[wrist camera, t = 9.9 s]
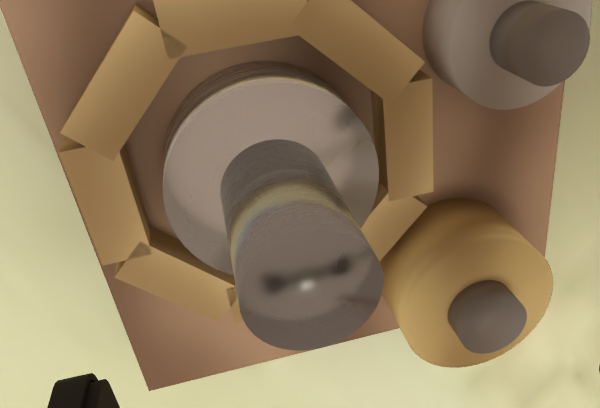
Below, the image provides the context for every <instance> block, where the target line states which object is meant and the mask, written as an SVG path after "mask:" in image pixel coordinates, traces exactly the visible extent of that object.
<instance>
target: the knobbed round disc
mask: <svg viewBox="0 0 600 408" xmlns="http://www.w3.org/2000/svg"><path fill="white" fill-rule="evenodd" d="M378 182H379V165H378V158H377V153H376V150H375V146H374V143H373V141H372V139H371V136H370V134H369V132H368V130H367V129H366V127H365V126H364V124H363V123H362V121H361V120H360V119H359V118H358V117H357V115H356V114H355V113H354V112H353V111H352V110H351V109H350V107H349V106H348V105H347V104H346V103H345V102H344V100H343V99H342V98H341V97H340V96H339V95H338V94H337V92H336V91H335V90H334V89H333V88H332V87H331V86H330V85H329V84H328V83H327V82H325V81H324V80H323V79H322V78H320V77H319V76H317V75H315V74H314V73H312V72H310V71H308V70H306V69H304V68H302V67H299V66H296V65H292V64H289V63H285V62H278V61H252V62H245V63H241V64H237V65H233V66H230V67H228V68H225V69H223V70H220V71H218V72H217V73H215V74H213V75H211V76H210V77H208V78H206V79H205V80H204V81H202V82H201V83H200V84H198V85H197V86H196V87H195V88H194V89H193V90H192V91H191V92H190V93H189V94H188V95H187V96H186V97H185V98H184V100H183V101H182V102H181V104H180V105H179V106H178V108H177V110H176V112H175V113H174V115H173V117H172V119H171V122H170V124H169V127H168V129H167V134H166V138H165V143H164V155H163V200H164V205H165V210H166V214H167V217H168V219H169V222H170V225H171V227H172V228H173V230H174V232H175V234H176V235H177V237H178V238H179V240H180V241H181V242H182V244H183V245H184V246H185V247H186V248H187V249H188V250H189V251H190V252H191V253H192V254H193V255H194V256H196V257H197V258H198V259H200V260H201V261H202V262H204V263H205V264H207V265H209V266H211V267H213V268H214V269H217V270H219V271H222V272H224V273H227V274H230V275H234V279H235V285H236V290H237V296H238V302H239V308H240V313H241V316H242V319H243V321H244V322H245V324H246V326H247V327H248V329H249V330H250V331H251V332H252V333H253V334H254V335H255V336H256V337H257V338H259V339H260V340H262V341H263V342H265V343H267V344H269V345H272V346H274V347H277V348H281V349H286V350H302V351H303V350H313V349H318V348H322V347H325V346H329V345H331V344H334V343H336V342H339V341H341V340H342V339H344V338H346V337H348V336H349V335H351V334H352V333H354V332H355V331H356V330H357V329H359V328H360V327H361V326H362V325H363V324H364V323H365V322H366V321H367V320H368V319H369V317H370V316H371V315H372V313H373V312H374V310H375V309H376V307H377V305H378V303H379V301H380V297H381V294H382V290H383V272H382V268H381V265H380V262H379V260H378V258H377V256H376V255H375V253H374V251H373V249H372V248H371V246H370V244H369V243H368V241H367V239H366V237H365V236H364V234H363V232H362V230H361V228H362V227H363V225H364V223H365V221H366V220H367V218H368V216H369V214H370V212H371V209H372V207H373V205H374V201H375V198H376V194H377V189H378Z"/></svg>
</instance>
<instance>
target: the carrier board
mask: <svg viewBox="0 0 600 408" xmlns="http://www.w3.org/2000/svg"><path fill="white" fill-rule="evenodd" d="M0 7H1V10H2V12H3V15H4V18H5V20H6V23H7V25H8V28H9V31H10V33H11V36H12V38H13V41H14V43H15V46H16V49H17V51H18V54H19V56H20V59H21V61H22V64H23V67H24V69H25V72H26V74H27V77H28V80H29V82H30V85H31V87H32V90H33V92H34V95H35V98H36V100H37V103H38V105H39V108H40V110H41V113H42V116H43V118H44V121H45V123H46V126H47V129H48V131H49V134H50V136H51V139H52V141H53V144H54V147H55V149H56V152H57V154H58V157H59V159H60V162H61V165H62V167H63V170H64V172H65V175H66V178H67V180H68V183H69V185H70V188H71V190H72V193H73V196H74V198H75V201H76V203H77V206H78V208H79V211H80V214H81V216H82V219H83V221H84V224H85V227H86V229H87V232H88V234H89V237H90V239H91V242H92V245H93V247H94V250H95V252H96V255H97V257H98V260H99V263H100V265H101V268H102V270H103V273H104V276H105V278H106V281H107V283H108V286H109V288H110V291H111V294H112V296H113V299H114V301H115V304H116V306H117V309H118V312H119V314H120V317H121V319H122V322H123V325H124V327H125V330H126V332H127V335H128V337H129V340H130V343H131V345H132V348H133V350H134V353H135V355H136V358H137V361H138V363H139V366H140V368H141V371H142V374H143V376H144V379H145V381H146V384H147V386H148V389H149V391H151V390H155V389H159V388H163V387H167V386H171V385H175V384H179V383H183V382H186V381H190V380H194V379H198V378H202V377H206V376H210V375H214V374H218V373H222V372H226V371H230V370H234V369H238V368H242V367H246V366H250V365H254V364H258V363H262V362H266V361H270V360H274V359H278V358H282V357H286V356H290V355H294V354H298V353H302V352H306V351H310V350H303V351H302V350H286V349H281V348H277V347H274V346H272V345H269V344H267V343H265V342H263V341H262V340H260V339H259V338H257V337H256V336H255V335H254V334H253V333H252V332H251V331H250V330H249V329H248V327H247V326H246V324H245V322H244V321H243V319H242V316H241V313H240V308H239V302H238V296H237V290H236V285H235V279H234V275H230V274H227V273H224V272H222V271H219V270H217V269H214V268H213V267H211V266H209V265H207V264H205V263H204V262H202V261H201V260H200V259H198V258H197V257H196V256H194V255H193V254H192V253H191V252H190V251H189V250H188V249H187V248H186V247H185V246H184V245H183V244H182V242H181V241H180V240H179V238H178V237H177V235H176V234H175V232H174V230H173V228H172V227H171V225H170V222H169V219H168V217H167V214H166V210H165V205H164V200H163V155H164V143H165V138H166V134H167V129H168V127H169V124H170V122H171V119H172V117H173V115H174V113H175V112H176V110H177V108H178V106H179V105H180V104H181V102H182V101H183V100H184V98H185V97H186V96H187V95H188V94H189V93H190V92H191V91H192V90H193V89H194V88H195V87H196V86H197V85H198V84H200V83H201V82H202V81H204V80H205V79H206V78H208V77H210V76H211V75H213V74H215V73H217V72H218V71H220V70H223V69H225V68H228V67H230V66H233V65H237V64H241V63H245V62H252V61H278V62H285V63H289V64H292V65H296V66H299V67H302V68H304V69H306V70H308V71H310V72H312V73H314V74H315V75H317V76H319V77H320V78H322V79H323V80H324V81H325V82H327V83H328V84H329V85H330V86H331V87H332V88H333V89H334V90H335V91H336V92H337V94H338V95H339V96H340V97H341V98H342V99H343V100H344V102H345V103H346V104H347V105H348V106H349V107H350V109H351V110H352V111H353V112H354V113H355V114H356V115H357V117H358V118H359V119H360V120H361V121H362V123H363V124H364V126H365V127H366V129H367V130H368V132H369V134H370V136H371V139H372V141H373V143H374V146H375V150H376V153H377V158H378V165H379V182H378V189H377V194H376V198H375V201H374V205H373V207H372V209H371V212H370V214H369V216H368V218H367V220H366V221H365V223H364V225H363V227H362V228H361V230H362V232H363V234H364V236H365V237H366V239H367V241H368V243H369V244H370V246H371V248H372V249H373V251H374V253H375V255H376V256H377V258H378V260H379V262H380V265H381V268H382V272H383V290H382V294H381V297H380V301H379V303H378V305H377V307H376V309H375V310H374V312H373V313H372V315H371V316H370V317H369V319H368V320H367V321H366V322H365V323H364V324H363V325H362V326H361V327H360V328H359V329H357V330H356V331H355V332H354V333H352V334H351V335H349V336H348V337H346V338H344V339H342V340H341V341H339V342H336V343H334V344H338V343H342V342H346V341H350V340H354V339H358V338H362V337H366V336H370V335H374V334H377V333H381V332H385V331H389V330H393V329H397V328H400V329H401V331H402V333H403V334H404V336H405V338H406V340H407V342H408V344H409V345H410V347H411V349H412V350H413V351H414V352H415V354H417V355H418V356H419V357H420V358H422V359H423V360H425V361H427V362H429V363H431V364H434V365H438V366H442V367H467V366H472V365H477V364H480V363H483V362H486V361H489V360H491V359H494V358H496V357H498V356H500V355H502V354H504V353H505V352H507V351H508V350H510V349H512V348H513V347H514V346H516V345H517V344H518V343H520V342H521V341H522V340H523V339H524V338H525V337H526V336H527V335H528V334H529V333H530V332H531V331H532V330H533V329H534V328H535V327H536V325H537V324H538V323H539V321H540V320H541V318H542V317H543V315H544V313H545V311H546V309H547V307H548V305H549V302H550V299H551V295H552V290H553V277H552V272H551V268H550V266H549V264H548V262H547V260H546V259H545V249H546V240H547V232H548V223H549V214H550V205H551V197H552V188H553V179H554V170H555V162H556V153H557V144H558V135H559V127H560V118H561V109H562V100H563V92H564V83H565V80H566V79H567V78H569V77H570V76H571V75H572V74H573V73H574V72H575V71H576V70H577V69H578V68H579V66H580V65H581V63H582V62H583V60H584V58H585V56H586V54H587V51H588V47H589V40H590V34H589V31H590V26H591V16H592V9H591V0H0ZM334 344H331V345H334ZM329 346H330V345H329ZM325 347H326V346H325ZM313 350H314V349H313Z"/></svg>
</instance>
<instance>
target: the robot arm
mask: <svg viewBox="0 0 600 408" xmlns="http://www.w3.org/2000/svg"><path fill="white" fill-rule="evenodd" d="M599 371H600V367H599ZM48 408H120V407H119V405H118V402H117V400H116V398H115V395H114V393H113V391H112V389H111V386H110V384H109V382H108V381H107V380H106V379H103V380H99V381H98V379H97V378H96V376H95V375H94V374H93V373H91V374H86V375H81V376H77V377H72V378H68V379H63V380H58V381H57V382H56V383H55V385H54V387H53V390H52V394H51V397H50V401H49V404H48Z"/></svg>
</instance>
